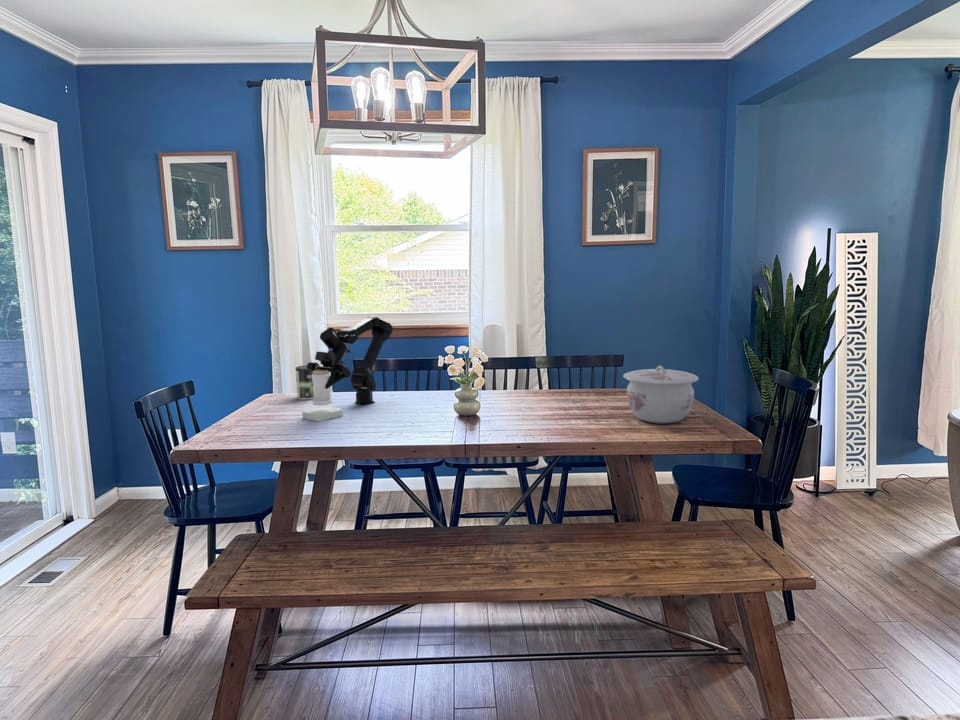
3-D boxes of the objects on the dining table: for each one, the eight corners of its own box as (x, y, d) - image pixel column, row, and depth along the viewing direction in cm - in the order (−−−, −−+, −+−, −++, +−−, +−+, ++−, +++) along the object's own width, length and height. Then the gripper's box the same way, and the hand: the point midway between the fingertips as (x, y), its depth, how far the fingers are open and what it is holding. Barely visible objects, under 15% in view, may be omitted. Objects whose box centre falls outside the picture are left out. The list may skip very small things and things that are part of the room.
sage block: (327, 412, 260) (327, 406, 259) (343, 415, 253) (342, 409, 253) (302, 417, 251) (302, 411, 250) (317, 421, 244) (317, 415, 244)
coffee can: (325, 396, 290) (323, 366, 288) (306, 400, 282) (305, 369, 279) (310, 394, 296) (309, 364, 294) (292, 398, 288) (290, 367, 286)
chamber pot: (675, 433, 222) (677, 374, 218) (608, 420, 240) (609, 366, 237) (710, 418, 241) (712, 364, 238) (645, 407, 260) (647, 357, 257)
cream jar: (317, 400, 256) (315, 369, 253) (334, 401, 254) (333, 369, 252) (309, 405, 248) (307, 372, 246) (327, 405, 247) (325, 372, 245)
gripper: (307, 342, 255) (289, 374, 247) (344, 344, 247) (326, 377, 239) (322, 358, 263) (305, 389, 256) (358, 361, 255) (341, 393, 247)
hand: (319, 387), depth 249 cm, fingers closed on cream jar, 7 cm apart
